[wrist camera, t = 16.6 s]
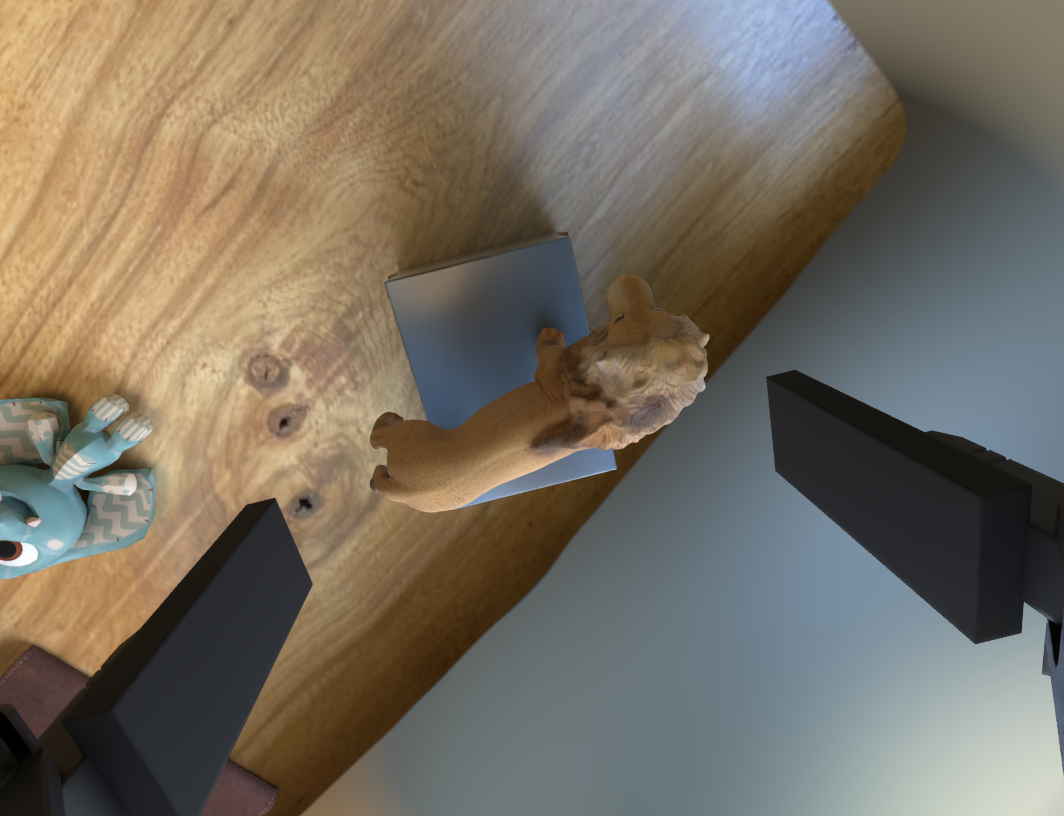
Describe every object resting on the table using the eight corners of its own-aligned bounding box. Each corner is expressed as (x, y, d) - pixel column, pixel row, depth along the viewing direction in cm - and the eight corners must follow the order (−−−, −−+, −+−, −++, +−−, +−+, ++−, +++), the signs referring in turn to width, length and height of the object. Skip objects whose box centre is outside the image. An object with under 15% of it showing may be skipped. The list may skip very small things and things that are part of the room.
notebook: (36, 641, 36) (11, 664, 35) (280, 787, 42) (271, 813, 40) (-89, 772, 39) (-119, 800, 37) (157, 893, 44) (143, 923, 42)
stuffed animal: (186, 495, 28) (11, 662, 28) (228, 458, 35) (88, 592, 35) (-11, 343, 25) (-211, 528, 25) (77, 334, 32) (-78, 479, 32)
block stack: (556, 231, 31) (581, 232, 23) (594, 411, 35) (627, 467, 27) (400, 270, 31) (371, 284, 23) (454, 446, 35) (445, 512, 27)
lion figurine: (608, 246, 23) (679, 256, 15) (671, 347, 25) (768, 408, 16) (337, 442, 25) (261, 552, 17) (413, 525, 27) (378, 665, 18)
